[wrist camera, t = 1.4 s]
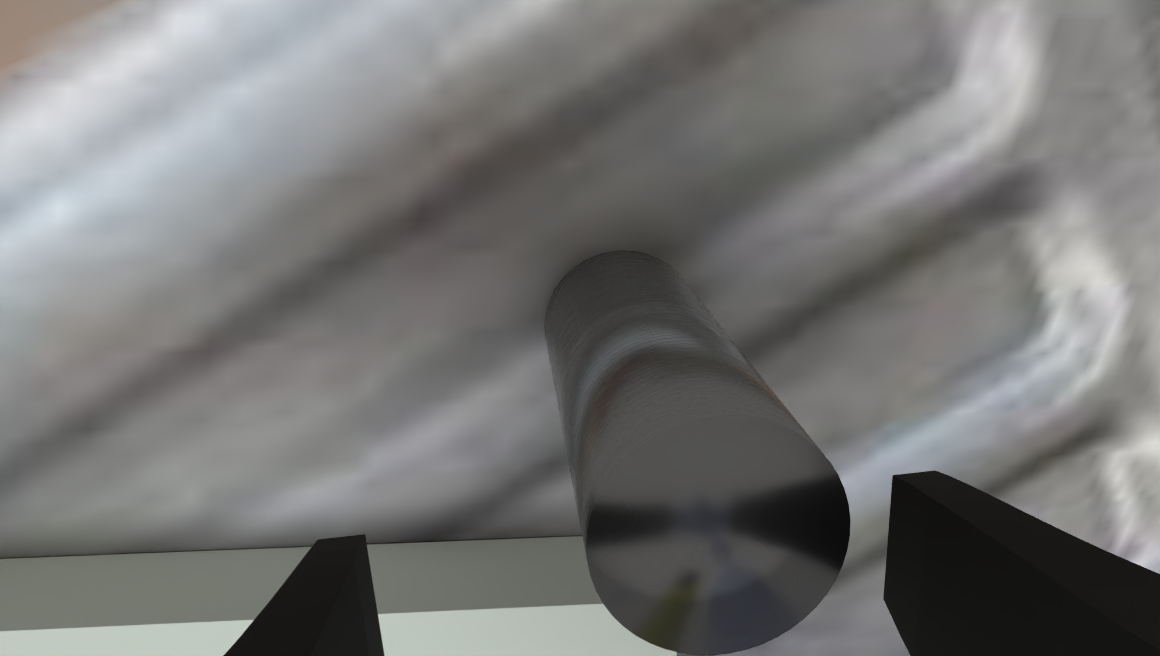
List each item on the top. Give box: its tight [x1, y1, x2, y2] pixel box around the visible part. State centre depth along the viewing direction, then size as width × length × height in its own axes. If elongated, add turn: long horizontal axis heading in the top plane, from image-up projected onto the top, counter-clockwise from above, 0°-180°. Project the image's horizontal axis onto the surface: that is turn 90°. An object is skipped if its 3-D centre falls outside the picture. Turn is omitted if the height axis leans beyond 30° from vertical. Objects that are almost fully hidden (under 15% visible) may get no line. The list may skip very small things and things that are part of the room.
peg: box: [545, 251, 850, 655], centre depth 17 cm, size 4×4×10 cm
